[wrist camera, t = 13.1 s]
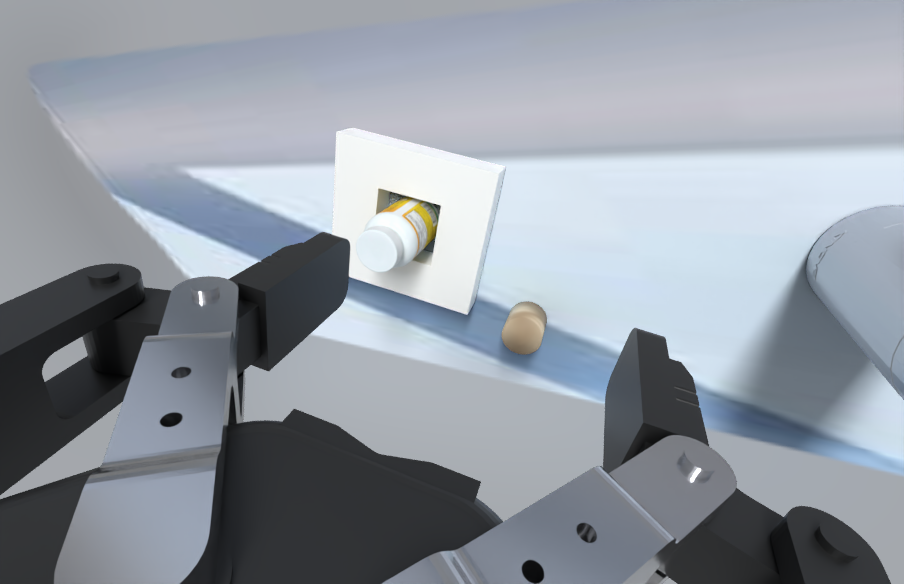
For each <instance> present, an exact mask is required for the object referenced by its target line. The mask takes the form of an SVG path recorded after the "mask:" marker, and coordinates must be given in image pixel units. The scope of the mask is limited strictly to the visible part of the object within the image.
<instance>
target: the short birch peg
mask: <svg viewBox="0 0 904 584" xmlns="http://www.w3.org/2000/svg"><path fill="white" fill-rule="evenodd" d="M546 323H547V316H546V313H545V311H544V310H543V309H542V308H541V307H540V306H539V305H537V304H535V303H532V302H521V303H518V304H516V305H515V306H514V307H513V308H512V309H511V311H510V314H509V316H508V319H507V321H506V323H505V326H504V328H503V331H502V340H503V342H504V344H505V346H506V347H507V348H508V349H509V350H511V351H513V352H515V353H517V354H531V353H533V352H535V351H536V350H537V349H538V348H539V347H540V345H541V341H542V338H543V334H544V330H545V327H546Z"/></svg>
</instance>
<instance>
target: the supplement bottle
mask: <svg viewBox="0 0 904 584" xmlns="http://www.w3.org/2000/svg"><path fill="white" fill-rule="evenodd" d="M438 220H439V213H438V211H437V209H436V207H435V206H434V205H433V203H430V202H427V201H423V200H419V199H416V198H412V197H409V196H406V197H404V198H402V199H400V200H399V201H397V202H395V203H394V204H392V205H391V206H389V207H387V208H386V209H384V210H383V211H381V212H380V213H378V214H376V215H375V216H373V217H372V218H371V219H370V220H369V221H368V223H367V224H366V226H365V229H364V232H363V233H362V234H361V235H360V236H359V238H358V239H357V243H356V251H357V255H358V258H359V259H360V261H361V262H362V264H363V265H364V266H365V267H367V268H368V269H370V270H372V271H375V272H387V271H389V270H391V269H392V268H398V267H402V266H404V265H406V264H408V263H409V262H411V261H412V260H413V259H414V258H415V257H416V256H417V255H418V254H419V253H420V252H421V251H422V250H423V249H424V248H425V247H426V246H427V245H428V244H429V243H430V242H431V241H432V240H433V239H434V238H435V237H436V232H437V226H438Z"/></svg>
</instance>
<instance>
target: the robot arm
mask: <svg viewBox="0 0 904 584" xmlns="http://www.w3.org/2000/svg"><path fill="white" fill-rule="evenodd" d="M349 263H350V242H349V241H348V240H347V239H345V238H342V237H338V236H335V235H332V234H329V233H325V232H321V233H319V234H318V235H316V236H314V237H313V238H311V239H309V240H308V241H306V242H304V243H298V244H294V245H290V246H287V247H284V248H282V249H280V250H278V251H277V252H275V253H273V254H272V256H268V257H266V258H265V259H263V260H261V262H258V263H256V264H254V265H252V266H251V267H249V268H247V269H246V270H244V271H242V272H240V273H239V274H237V275H235V276H233V277H232V278H230V279H225V278H221V277H209V276H208V277H197V278H192V279H189V280H186V281H183V282H181V283H179V284H178V285H176V286H175V287H174V288H173V289H172V291H170V290H161V289H153V288H144V286H143V281H142V277H141V273H140V271H139V270H138V269H136V268H135V267H132V266H129V265H124V264H101V265H94V266H90V267H87V268H83V269H81V270H78V271H76V272H73V273H71V274H69V275H67V276H64V277H62V278H60V279H57V280H55V281H53V282H51V283H48V284H46V285H44V286H42V287H39V288H37V289H35V290H32V291H30V292H28V293H26V294H23V295H21V296H19V297H16V298H14V299H12V300H10V301H7V302H5V303H3V304H1V305H0V495H1V494H2V493H4V492H5V491H6V490H8V489H9V488H10V487H11V486H12V485H14V484H15V483H17V482H18V481H19V480H21V479H22V478H23V477H25V476H26V475H27V474H28V473H30V472H31V471H32V470H34V469H35V468H36V467H38V466H39V465H40V464H42V463H43V462H44V461H45V460H47V459H48V458H49V457H51V456H52V455H53V454H55V453H56V452H57V451H58V450H60V449H61V448H63V447H64V446H65V445H66V444H67V443H69V442H70V441H72V440H73V439H74V438H75V437H77V436H78V435H79V434H81V433H82V432H83V431H85V430H86V429H87V428H89V427H90V426H91V425H93V424H94V423H95V422H96V421H98V420H99V419H100V418H102V417H103V416H104V415H106V414H107V413H108V412H109V411H111V410H112V409H113V408H115V407H116V406H117V405H118V404H120V403H121V402H123V403H122V406H121V409H120V412H119V415H118V418H117V421H116V424H115V427H114V430H113V433H112V436H111V439H110V442H109V445H108V448H107V451H106V454H105V457H104V460H103V463H102V465H101V467H98V468H95V469H92V470H89V471H86V472H83V473H80V474H77V475H74V476H71V477H68V478H65V479H62V480H59V481H56V482H52V483H49V484H46V485H43V486H40V487H37V488H34V489H31V490H28V491H25V492H22V493H18V494H15V495H12V496H9V497H6V498H3V499H0V584H663V583H664V582H665V581H666V580H667V579H668V578H671V579H672V580H673V581H675V582H676V583H677V584H891V583H890V580H889V578H888V576H887V574H886V572H885V570H884V567H883V565H882V563H881V561H880V560H879V558H878V556H877V555H876V553H875V552H874V550H873V549H872V548H871V547H870V546H869V545H868V544H867V542H866V541H865V540H864V539H863V538H862V537H861V536H860V535H858V534H857V533H856V532H855V531H854V530H853V529H851V528H850V527H849V526H848V525H846V524H845V523H843V522H842V521H840V520H839V519H837V518H835V517H834V516H832V515H830V514H828V513H826V512H823V511H821V510H818V509H815V508H812V507H805V506H799V507H795V508H792V509H791V510H790V511H789V512H788V513H787V514H786V515H785V517H782V516H781V515H779V514H777V513H776V512H774V511H772V510H770V509H769V508H767V507H765V506H764V505H762V504H760V503H759V502H757V501H755V500H754V499H752V498H750V497H749V496H747V495H746V494H744V493H743V492H741V491H740V490H739V489H737V488H736V485H737V483H736V482H737V481H736V477H735V475H734V472H733V470H732V469H731V468H730V466H729V464H728V463H727V462H726V461H725V460H724V459H723V458H722V457H721V456H720V455H719V454H718V453H717V452H716V451H714V450H713V449H712V448H710V447H709V444H708V439H707V435H706V431H705V427H704V423H703V418H702V414H701V410H700V408H699V401H698V397H697V395H696V389H695V384H694V380H693V377H692V376H691V375H690V373H689V372H688V371H687V369H686V368H685V367H684V365H683V364H682V363H681V362H678V361H675V360H672V359H669V355H668V349H667V344H666V339H665V337H663V336H660V335H657V334H653V333H650V332H647V331H644V330H640V329H637V328H634V329H633V330H632V331H631V333H630V335H629V337H628V339H627V341H626V343H625V346H624V348H623V350H622V352H621V355H620V357H619V359H618V361H617V363H616V366H615V368H614V370H613V372H612V375H611V377H610V380H609V383H608V387H607V391H606V398H605V428H604V459H603V461H604V462H603V467H601V466H596V467H594V468H592V469H590V470H588V471H587V472H585V473H583V474H582V475H580V476H578V477H577V478H575V479H573V480H572V481H570V482H569V483H567V484H565V485H564V486H562V487H560V488H559V489H557V490H555V491H554V492H552V493H550V494H549V495H547V496H545V497H544V498H542V499H540V500H539V501H537V502H536V503H534V504H532V505H530V506H529V507H527V508H525V509H524V510H522V511H521V512H519V513H517V514H516V515H514V516H512V517H511V518H509V519H508V520H506V521H504V522H503V521H502V520H501V519H500V518H499V517H498V516H497V515H496V513H494V512H493V511H492V510H491V509H490V508H489V507H488V506H487V505H485V504H484V503H483V502H481V501H480V500H479V499H477V498H476V496H477V493H478V489H479V486H480V483H481V482H480V481H478V480H475V479H473V478H470V477H467V476H465V475H462V474H460V473H457V472H455V471H452V470H449V469H447V468H444V467H442V466H439V465H437V464H434V463H431V462H425V461H418V460H412V459H406V458H399V457H393V456H386V455H381V454H378V453H376V452H374V451H372V450H371V449H370V448H368V447H367V446H365V445H364V444H363V443H361V442H360V441H358V440H357V439H356V438H354V437H353V436H351V435H350V434H348V433H347V432H346V431H344V430H343V429H341V428H340V427H339V426H337V425H334V424H332V423H329V422H327V421H324V420H322V419H319V418H316V417H314V416H312V415H309V414H306V413H304V412H301V411H299V410H296V409H294V410H293V411H292V412H291V413H290V414H289V415H288V416H287V417H286V418H285V419H284V420H283V422H280V421H250V422H243V420H244V396H245V371H244V370H245V369H246V368H247V367H249V366H250V365H253V366H256V367H258V368H261V369H264V370H266V371H270V370H271V369H272V368H273V367H274V366H275V365H276V364H277V363H278V362H280V361H281V360H282V359H283V358H284V357H285V356H286V355H287V354H288V353H289V352H291V351H292V350H293V349H294V348H295V347H296V346H297V345H298V344H299V343H300V342H302V341H303V340H304V339H305V338H306V337H307V336H308V335H309V334H310V333H311V332H313V331H314V330H315V329H316V328H317V327H318V326H319V325H320V324H321V323H322V322H324V321H325V320H326V319H327V318H328V317H329V316H330V315H331V314H332V313H333V312H335V311H336V310H337V309H338V308H339V307H340V306H341V304H342V303H343V301H344V299H345V297H346V294H347V290H348V279H349ZM806 271H807V279H808V282H809V284H810V287H811V288H812V290H813V291H814V292H815V294H816V295H817V296H818V297H819V299H820V300H821V301H822V302H823V303H824V305H825V306H826V307H827V308H828V309H829V311H830V312H831V313H832V315H833V316H834V317H835V318H836V319H837V321H838V322H839V323H840V324H841V325H842V327H843V328H844V329H845V330H846V331H847V333H848V334H849V335H850V336H851V337H852V339H853V340H854V341H855V342H856V344H857V345H858V346H859V347H860V348H861V350H862V351H863V352H864V353H865V354H866V356H867V357H868V358H869V359H870V360H871V362H872V363H873V364H874V365H875V366H876V368H877V369H878V370H879V371H880V372H881V374H882V375H883V376H884V377H885V378H886V380H887V381H888V382H889V383H890V384H891V386H892V387H893V388H894V389H895V390H896V392H897V393H898V394H899V395H900V396H901V397H902V398H903V400H904V206H884V207H875V208H872V209H868V210H864V211H860V212H858V213H856V214H853V215H851V216H849V217H846V218H844V219H843V220H841V221H840V222H838V223H836V224H835V225H833V226H832V227H831V228H830V229H828V230H827V231H826V232H825V233H824V234H823V235H822V236H821V237H820V238H819V240H818V241H817V242H816V243H815V245H814V246H813V248H812V250H811V252H810V254H809V256H808V261H807V266H806ZM80 337H83V340H84V343H85V347H86V350H87V353H88V356H87V357H85V358H83V359H82V360H80V361H79V362H77V363H75V364H74V365H72V366H71V367H69V368H67V369H66V370H64V371H62V372H61V373H59V374H58V375H56V376H54V377H53V378H51V379H50V380H48V381H46V382H44V379H43V376H42V368H43V365H44V363H45V361H46V360H47V359H48V357H49V356H50V355H52V354H53V353H54V352H56V351H57V350H59V349H61V348H63V347H64V346H66V345H68V344H69V343H71V342H73V341H75V340H76V339H78V338H80Z"/></svg>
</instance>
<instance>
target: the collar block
mask: <svg viewBox="0 0 904 584" xmlns="http://www.w3.org/2000/svg"><path fill="white" fill-rule="evenodd" d="M505 169H506V167H505V166H501V165H497V164H493V163H489V162H485V161H482V160H478V159H474V158H470V157H466V156H462V155H458V154H454V153H450V152H446V151H442V150H438V149H434V148H431V147H427V146H423V145H419V144H415V143H411V142H407V141H403V140H399V139H395V138H391V137H387V136H383V135H380V134H376V133H372V132H368V131H364V130H360V129H356V128H348V129H345V130H341V131H337V132H336V156H335V180H334V204H333V228H332V235H335V236H338V237H342V238H345V239H347V240H348V241H349V242H350V263H349V277H351V278H354V279H358V280H361V281H364V282H367V283H370V284H373V285H376V286H379V287H382V288H386V289H389V290H392V291H395V292H398V293H401V294H404V295H407V296H410V297H413V298H417V299H420V300H423V301H426V302H429V303H432V304H435V305H438V306H441V307H445V308H448V309H451V310H454V311H457V312H460V313H463V314H466V315H468V313H469V311H470V309H471V308H472V306H473V304H474V302H475V299H476V295H477V291H478V286H479V282H480V278H481V273H482V269H483V265H484V260H485V256H486V252H487V247H488V243H489V239H490V234H491V230H492V226H493V221H494V217H495V213H496V208H497V204H498V200H499V195H500V191H501V187H502V182H503V178H504V174H505ZM390 191H391V192H394V193H398V194H402V195H405V196H409V197H412V198H416V199H419V200H423V201H427V202H430V203H434V204H437V205H441V208H440V214H439V220H438V226H437V232H436V239H435V245H434V251H433V253H432V252H429V251H425V250H422V251H421V252H420V253H419V254H418V255H417V256H416V257H415V258H414V259H413V260H412V261H411V262H409V263H408V264H406V265H404V266H402V267H398V268H392V269H391V270H389V271H387V272H375V271H372V270H370V269H368V268H367V267H365V266H364V265H363V264H362V262H361V261H360V259H359V258H358V255H357V251H356V243H357V239H358V238H359V236H360V235H361V234H362V233H363V232H364V229H365V226H366V224H367V223H368V221H369V220H370V219H371V218H372V217H373V216H375V215H376V214H378V213H380V212H381V211H383V210H384V209H386V208H387V207H389V197H390Z"/></svg>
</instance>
